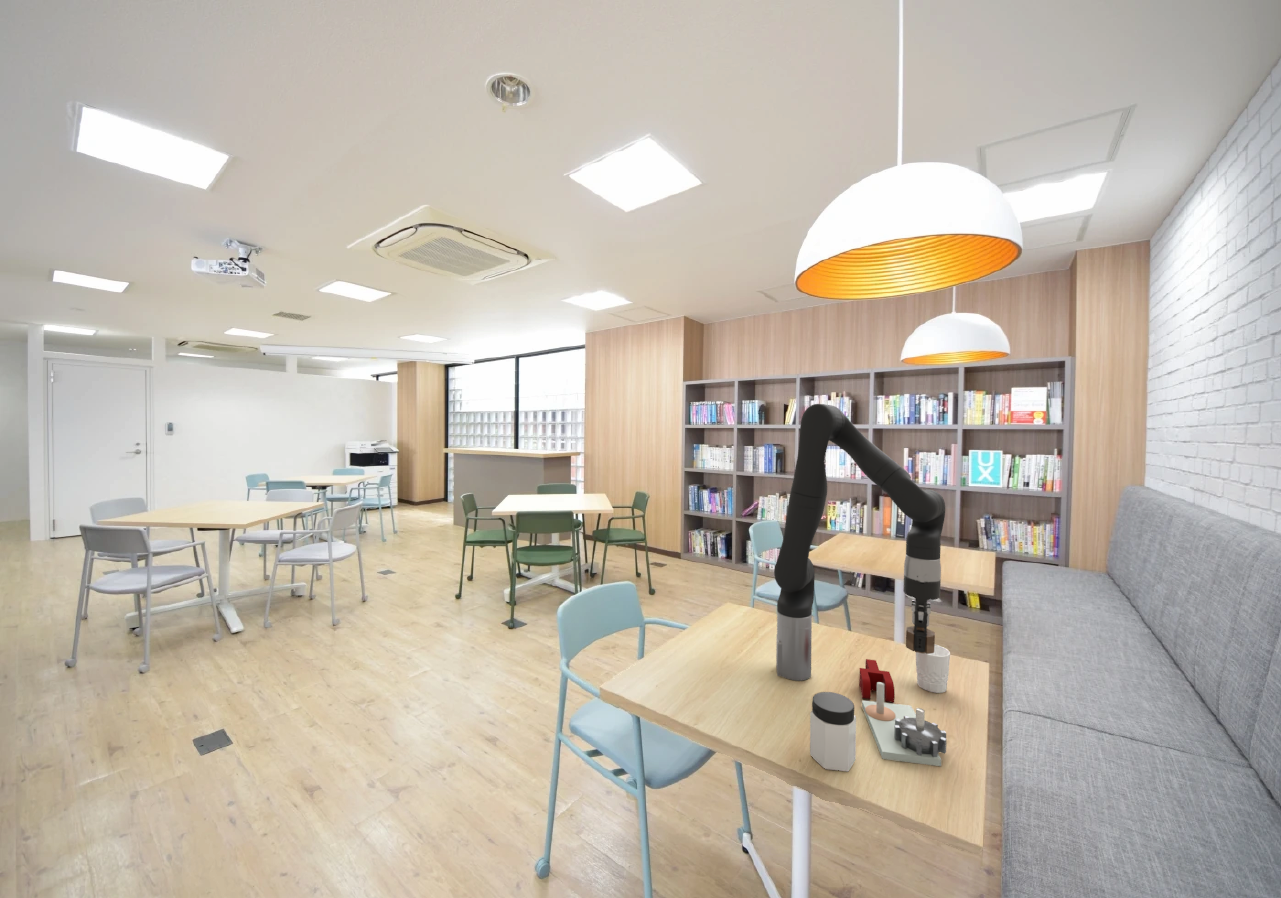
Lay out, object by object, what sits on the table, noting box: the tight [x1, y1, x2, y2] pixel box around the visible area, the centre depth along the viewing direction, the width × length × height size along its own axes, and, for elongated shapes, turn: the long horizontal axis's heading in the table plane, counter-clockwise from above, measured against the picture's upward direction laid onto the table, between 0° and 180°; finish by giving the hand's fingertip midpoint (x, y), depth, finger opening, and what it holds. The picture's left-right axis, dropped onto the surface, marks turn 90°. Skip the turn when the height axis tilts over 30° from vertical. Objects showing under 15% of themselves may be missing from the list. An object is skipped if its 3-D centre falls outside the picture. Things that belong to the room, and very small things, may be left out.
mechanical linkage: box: [858, 658, 896, 704], centre depth 132 cm, size 16×7×5 cm, turn 162°
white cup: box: [915, 643, 951, 694], centre depth 132 cm, size 8×8×10 cm
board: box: [861, 682, 942, 767], centre depth 112 cm, size 11×20×8 cm, turn 167°
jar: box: [809, 691, 857, 772], centre depth 103 cm, size 9×8×12 cm
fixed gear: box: [894, 707, 947, 757], centre depth 106 cm, size 10×10×7 cm
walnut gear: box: [905, 625, 936, 654], centre depth 118 cm, size 6×6×4 cm
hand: (919, 645), depth 118 cm, fingers closed on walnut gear, 5 cm apart
